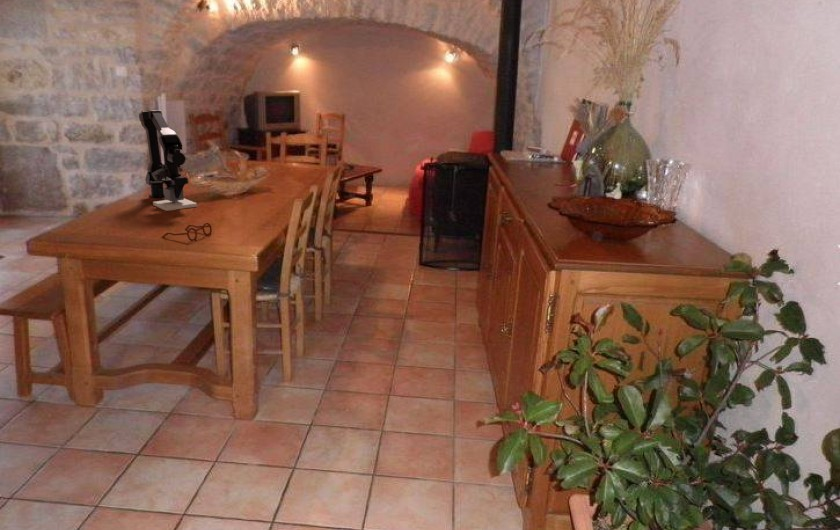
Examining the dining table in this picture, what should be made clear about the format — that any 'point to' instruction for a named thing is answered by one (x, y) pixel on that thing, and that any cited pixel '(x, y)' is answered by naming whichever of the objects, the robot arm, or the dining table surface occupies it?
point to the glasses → (194, 231)
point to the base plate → (174, 204)
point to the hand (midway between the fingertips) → (174, 197)
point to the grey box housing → (172, 194)
